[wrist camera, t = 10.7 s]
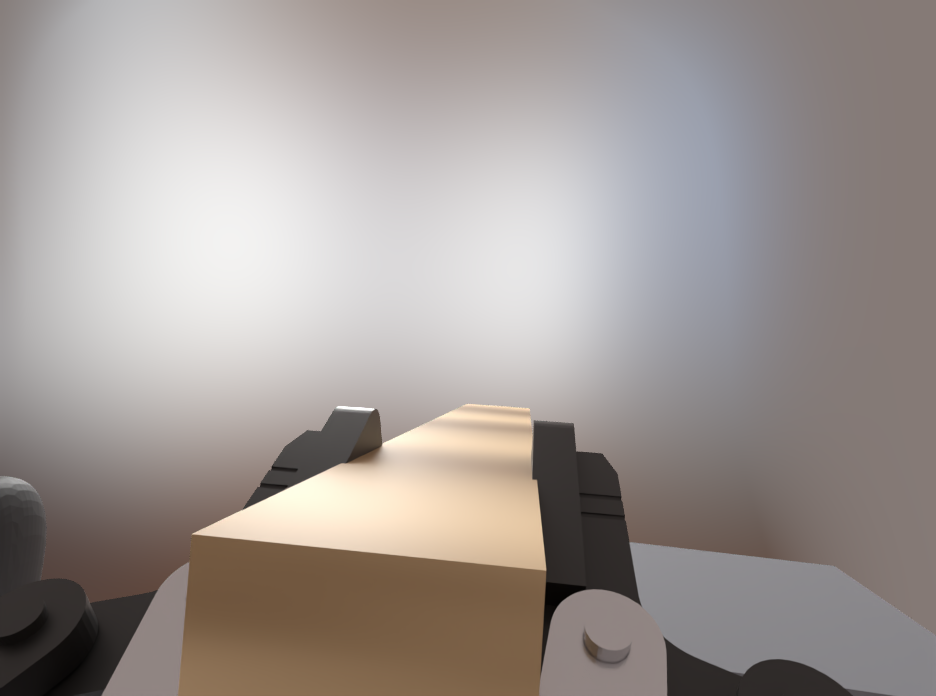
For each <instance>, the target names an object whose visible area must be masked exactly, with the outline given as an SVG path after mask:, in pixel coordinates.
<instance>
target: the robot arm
mask: <svg viewBox="0 0 936 696" xmlns="http://www.w3.org/2000/svg"><path fill="white" fill-rule="evenodd" d="M381 446H382V437H381V425H380V416H379V413H378V410H377V409H369V408H355V407H342V406H338V407H336V408H335V409H334V411H333V412H332V414H331V416H330V417H329V419H328V421H327V422H326V424H325V426H324V427H323V429H322V431H308V430H307V431H306V432H305V433H303V434H302V435H300V436H299V437H298V438H296V439H295V440H293V441H292V442H291V443H289V444H288V445H287V446H285V448H284V449H283V450H282V452H281V453H280V455H279V456H278V458H277V459H276V461H275V462H274V464H273V465H272V469H271V471H270V470H269V471H268V473H267V474H266V475H265V477H264V479H263V480H262V481H261V485H260V487H258V488H257V489H256V490H255V492H254V493H253V495H252V496H251V498H250V499H249V501H248V502H247V504H246V505H245V507H244V508H243V510H244V509H246V508H248V507H250V506H252V505H254V504H257V503H259V502H261V501H263V500H265V499H267V498H269V497H271V496H273V495H276V494H278V493H280V492H282V491H284V490H286V489H288V488H290V487H292V486H295V485H297V484H299V483H301V482H303V481H305V480H307V479H309V478H311V477H314V476H316V475H318V474H320V473H322V472H324V471H326V470H328V469H330V468H333V467H335V466H337V465H339V464H341V463H345V464H346V463H348V462H350V461H352V460H354V459H356V458H358V457H360V456H363V455H365V454H367V453H369V452H371V451H373V450H375V449H377V448H379V447H381ZM531 467H532V480H537V485H538V495H539V504H540V514H541V524H542V533H543V543H544V553H545V562H546V586H545V603H544V620H543V637H542V654H541V671H540V688H539V696H853V695H852V694H851V693H850V692H849V691H847V690H846V689H845V688H844V687H842V686H841V685H840V684H839V683H838V682H836V681H835V680H833V679H832V678H830V677H829V676H827V675H826V674H824V673H822V672H820V671H818V670H816V669H814V668H812V667H810V666H807V665H805V664H802V663H798V662H795V661H791V660H784V659H769V660H765V661H761V662H758V663H756V664H754V665H753V666H751V667H750V668H749V669H748V670H747V671H746V672H745V674H744V675H743V677H742V676H739V675H737V674H735V673H732V672H730V671H727V670H725V669H723V668H720V667H718V666H715V665H713V664H710V663H708V662H706V661H703V660H701V659H698V658H696V657H694V656H692V655H690V654H688V653H686V652H684V651H683V650H681V649H679V648H678V647H676V646H675V645H673V644H672V643H671V642H669V641H668V640H667V639H666V638H665V637H664V636H663V634H662V632H661V630H660V628H659V626H658V625H657V623H656V622H655V620H654V619H653V618H652V616H651V615H650V614H649V613H648V612H647V611H646V610H645V609H644V608H642V605H641V602H640V599H639V595H638V589H637V583H636V577H635V572H634V566H633V560H632V554H631V549H630V543H629V537H628V532H627V526H626V521H625V515H624V509H623V503H622V501H621V491H620V486H619V480H618V474H617V473H616V471H615V470H614V469H613V467H612V466H611V465H610V463H609V462H608V461H607V460H606V458H605V457H604V455H603V454H601V453H589V452H576V445H575V433H574V424H573V423H561V422H547V421H534V424H533V437H532V451H531ZM45 546H46V517H45V511H44V507H43V503H42V500H41V498H40V496H39V494H38V492H37V491H36V490H35V489H34V488H33V487H32V486H31V485H30V484H29V483H27V482H25V481H23V480H21V479H18V478H13V477H8V476H0V696H178V689H179V678H180V666H181V654H182V643H183V631H184V620H185V608H186V596H187V585H188V573H189V562H188V563H186V564H185V565H183V566H182V567H180V568H179V569H177V570H176V571H175V572H174V573H173V574H171V575H170V576H169V577H168V578H167V579H166V580H165V582H164V583H163V584H162V585H161V586H160V588H159V590H156V591H153V592H149V593H145V594H139V595H134V596H128V597H122V598H117V599H110V600H105V601H99V602H93V603H89V600H88V598H87V596H86V594H85V592H84V589H83V588H82V587H81V586H80V585H79V584H77V583H76V582H74V581H71V580H67V579H47V580H41V581H40V579H41V574H42V567H43V561H44V553H45Z"/></svg>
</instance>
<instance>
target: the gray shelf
mask: <svg viewBox="0 0 936 696" xmlns="http://www.w3.org/2000/svg"><path fill="white" fill-rule="evenodd" d="M629 543H630V549H631V554H632V560H633V566H634V572H635V577H636V583H637V589H638V595H639V599H640V602H641V605H642V608H644V609H645V610H646V611H647V612H648V613H649V614H650V615H651V616H652V618H653V619H654V620H655V622H656V623H657V625H658V626H659V628H660V630H661V632H662V634H663V636H664V637H665V638H666V639H667V640H668V641H669V642H671V643H672V644H673V645H675V646H676V647H678V648H679V649H681V650H683V651H684V652H686V653H688V654H690V655H692V656H694V657H696V658H698V659H701V660H703V661H706V662H708V663H710V664H713V665H715V666H718V667H720V668H723V669H725V670H727V671H730V672H732V673H735V674H737V675H739V676H742V677H743V675H744V674H745V672H746V671H747V670H748V669H749V668H750V667H751V666H753V665H754V664H756V663H758V662H761V661H765V660H769V659H784V660H791V661H795V662H798V663H802V664H805V665H807V666H810V667H812V668H814V669H816V670H818V671H820V672H822V673H824V674H826V675H827V676H829V677H830V678H832V679H833V680H835V681H836V682H838V683H839V684H840V685H841V686H842V687H844V688H845V689H846V690H847V691H849V692H850V693H851V694H852V695H853V696H936V635H934V634H933V633H931V632H930V631H928V630H927V629H925V628H924V627H923V626H921V625H920V624H918V623H917V622H915V621H914V620H912V619H911V618H909V617H908V616H906V615H905V614H904V613H902V612H901V611H899V610H898V609H896V608H895V607H893V606H892V605H890V604H889V603H887V602H886V601H884V600H883V599H882V598H880V597H879V596H877V595H876V594H874V593H873V592H871V591H870V590H868V589H867V588H866V587H864V586H862V585H861V584H860V583H858V582H857V581H855V580H854V579H852V578H851V577H849V576H848V575H846V574H845V573H844V572H842V571H841V570H839V569H838V568H836V567H835V566H828V565H820V564H812V563H803V562H795V561H786V560H778V559H769V558H760V557H752V556H743V555H734V554H725V553H717V552H708V551H700V550H691V549H683V548H675V547H666V546H658V545H649V544H640V543H632V542H629Z"/></svg>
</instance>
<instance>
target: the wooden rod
mask: <svg viewBox="0 0 936 696" xmlns="http://www.w3.org/2000/svg"><path fill="white" fill-rule="evenodd" d="M531 451H532V428H531V418H530V409H529V408H517V407H503V406H489V405H475V404H466V405H464V406H461V407H459V408H457V409H455V410H453V411H451V412H449V413H447V414H445V415H442V416H440V417H438V418H436V419H434V420H432V421H430V422H428V423H425V424H423V425H421V426H419V427H417V428H415V429H413V430H411V431H409V432H406V433H405V434H402V435H400V436H398V437H396V438H394V439H392V440H390V441H387V442H385V443H383V444H382V446H381V447H379V448H377V449H375V450H373V451H371V452H369V453H367V454H365V455H363V456H360V457H358V458H356V459H354V460H352V461H350V462H348V463H346V464H345V463H341V464H339V465H337V466H335V467H333V468H330V469H328V470H326V471H324V472H322V473H320V474H318V475H316V476H314V477H311V478H309V479H307V480H305V481H303V482H301V483H299V484H297V485H295V486H292V487H290V488H288V489H286V490H284V491H282V492H280V493H278V494H276V495H273V496H271V497H269V498H267V499H265V500H263V501H261V502H259V503H257V504H254V505H252V506H250V507H248V508H246V509H244V510H242V511H240V512H238V513H235V514H233V515H231V516H229V517H227V518H225V519H223V520H221V521H219V522H216V523H215V524H213V525H210V526H208V527H206V528H204V529H202V530H200V531H197V532H195V533H193V534H192V538H191V551H190V561H189V573H188V585H187V596H186V608H185V620H184V631H183V643H182V654H181V666H180V678H179V689H178V696H539V688H540V671H541V654H542V637H543V620H544V603H545V586H546V562H545V553H544V543H543V533H542V524H541V514H540V504H539V495H538V485H537V480H532V467H531Z"/></svg>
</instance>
